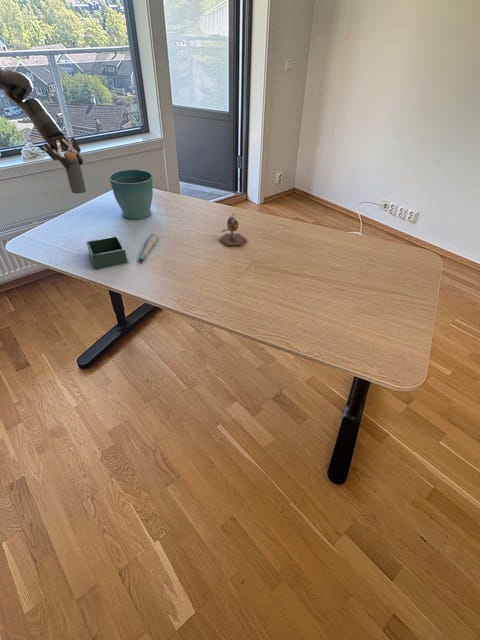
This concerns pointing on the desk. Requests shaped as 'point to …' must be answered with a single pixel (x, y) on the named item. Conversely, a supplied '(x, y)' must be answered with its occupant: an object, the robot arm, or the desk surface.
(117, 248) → the green open box
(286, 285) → the desk surface
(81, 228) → the desk surface
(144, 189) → the flower pot
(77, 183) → the bottle
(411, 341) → the desk surface
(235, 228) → the brown figurine on base
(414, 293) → the desk surface
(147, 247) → the pen
